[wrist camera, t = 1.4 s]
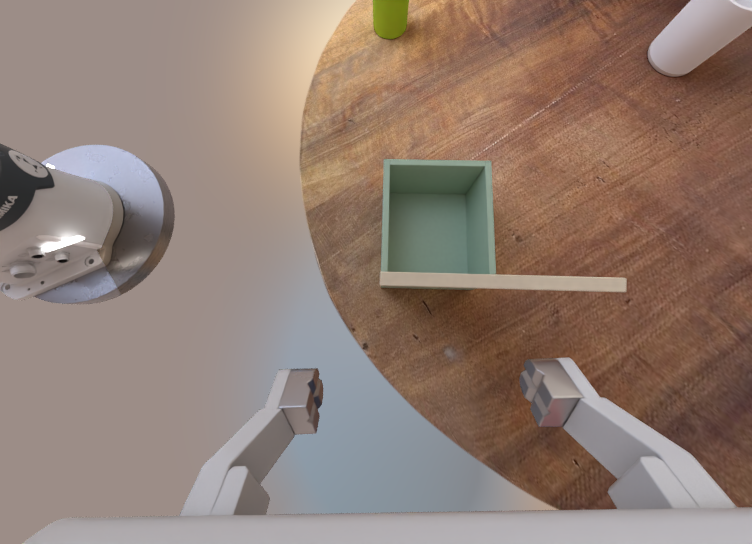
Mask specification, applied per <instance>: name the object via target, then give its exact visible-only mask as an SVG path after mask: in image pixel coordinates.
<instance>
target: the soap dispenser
mask: <svg viewBox="0 0 752 544" xmlns="http://www.w3.org/2000/svg"><path fill="white" fill-rule="evenodd" d="M408 4H409V0H373V24H374V30H375V32H376V33H377V34H378V35H379V36H380V37H382V38H385V39H395V38H397V37H399V36H401V35H402V34H403V33H404V32H405V30H406V26H407V15H408Z"/></svg>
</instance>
